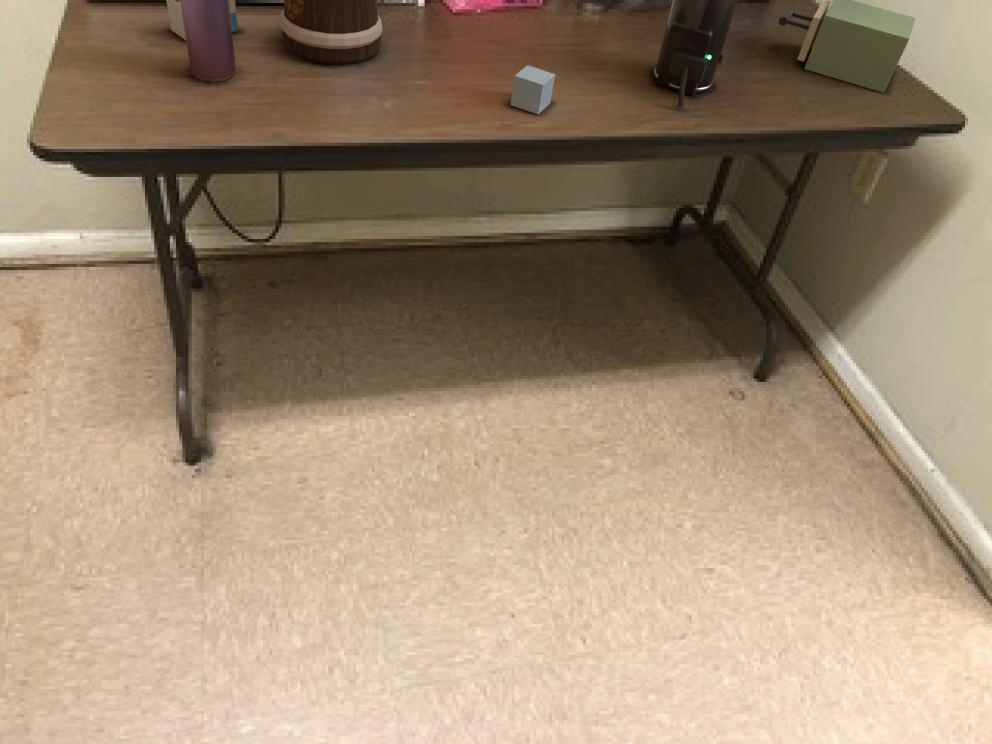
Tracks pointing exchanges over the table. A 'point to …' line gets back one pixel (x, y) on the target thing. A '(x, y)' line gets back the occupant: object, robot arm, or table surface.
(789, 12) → the drawer
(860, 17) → the cabinet
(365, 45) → the mug
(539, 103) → the block
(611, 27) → the table surface
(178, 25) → the ink box
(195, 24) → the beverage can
